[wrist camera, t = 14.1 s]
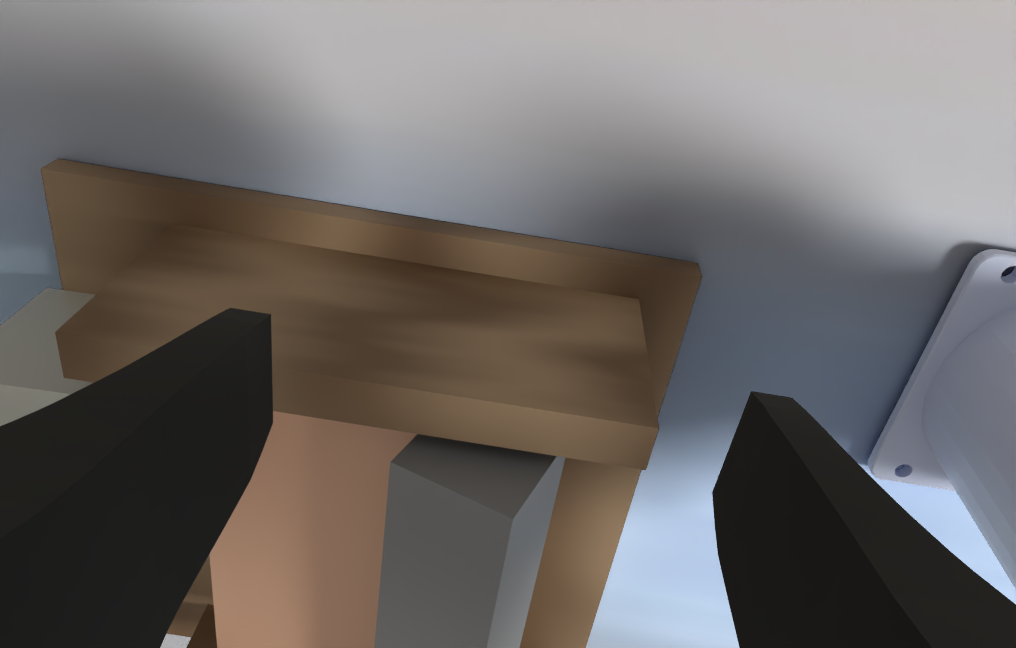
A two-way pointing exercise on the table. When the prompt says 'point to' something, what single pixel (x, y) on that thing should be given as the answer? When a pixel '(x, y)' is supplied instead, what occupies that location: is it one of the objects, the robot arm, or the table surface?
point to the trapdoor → (381, 541)
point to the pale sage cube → (36, 354)
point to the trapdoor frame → (394, 339)
